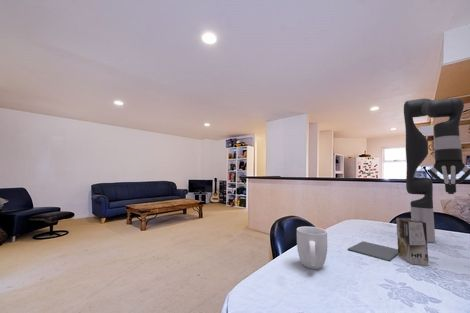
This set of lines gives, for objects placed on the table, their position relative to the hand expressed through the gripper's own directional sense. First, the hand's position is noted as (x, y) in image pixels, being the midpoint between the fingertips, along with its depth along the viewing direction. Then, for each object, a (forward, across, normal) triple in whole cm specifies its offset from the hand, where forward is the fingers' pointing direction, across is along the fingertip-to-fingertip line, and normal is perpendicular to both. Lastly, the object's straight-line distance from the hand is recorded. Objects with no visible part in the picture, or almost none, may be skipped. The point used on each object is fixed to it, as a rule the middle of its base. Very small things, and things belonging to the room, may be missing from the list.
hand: (451, 193), depth 81 cm
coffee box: (+28, +12, +2) cm, 30 cm away
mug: (+28, +35, +40) cm, 60 cm away
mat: (+27, +26, +2) cm, 38 cm away
